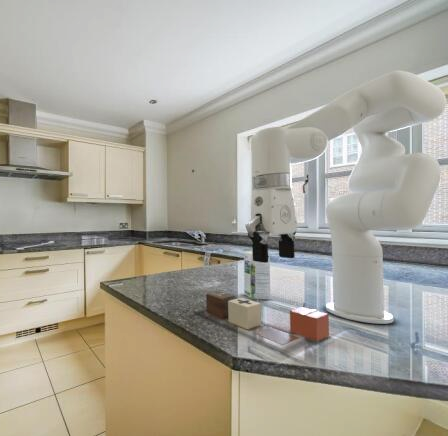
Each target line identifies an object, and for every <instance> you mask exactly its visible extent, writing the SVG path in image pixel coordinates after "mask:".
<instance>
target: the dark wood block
mask: <svg viewBox="0 0 448 436" xmlns="http://www.w3.org/2000/svg"><path fill="white" fill-rule="evenodd" d="M205 297H206V301H205V302H206V311H207V313H210V314H212V315H215V316H217V317H219V318H222V319H223V318H226V317H228V301H230V300H234V299H236V295H234V294H230V293H227V292H224V291H221V290H218V291H217V290H216V291H213V292H207V293H206V294H205ZM207 313H206V314H207ZM219 318H218V319H219Z"/></svg>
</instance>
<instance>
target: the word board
mask: <svg viewBox="0 0 448 436" xmlns="http://www.w3.org/2000/svg"><path fill="white" fill-rule="evenodd" d="M203 313H204V314H207V315H209V316H211V317H214V318H216V319H219V320H221V321H224V320H226V321H225V322H226V323H228V324H231V325H233V326H236V327H238V328H240V329H243V330H245V331H248V332H251V331H253V330H257V329H260V330H257V331H254V332H253V334H255V335H258V336H260V337H262V338H265V339H267V340H270V341H271V342H274V343H277V344H279V345H281V346H284V345H286V344H288V343H291V342H293V341H296V340H297V339H299V338H300V337H299V336H295V335H293V334H291V333H288V332H285V331H282V330H280V329H277V328H275V327H271V326H268V327H266V324H263V323H261V325H259V326H256V327H253V328H250V329H245V328H243V327H241V326H238V325H236V324H233V323H231V322H229V320H227V319H228V317H226V318H223V319H222V318H219V317H217V316H215V315H212V314H210V313H207V310H206V311H203ZM262 327H266V328H262ZM261 328H262V329H261Z"/></svg>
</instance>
